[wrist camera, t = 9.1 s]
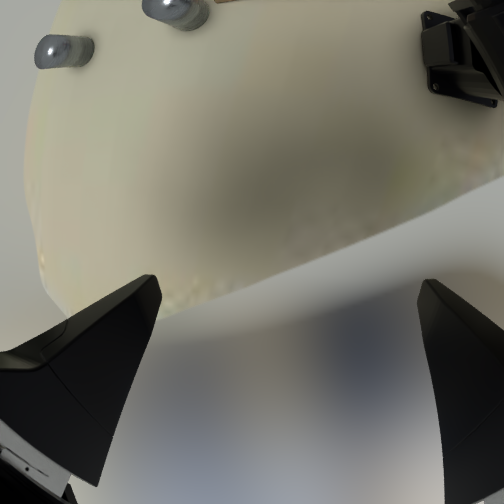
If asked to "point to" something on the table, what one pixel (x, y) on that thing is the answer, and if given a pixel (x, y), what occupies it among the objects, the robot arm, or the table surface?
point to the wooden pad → (219, 0)
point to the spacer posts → (81, 48)
